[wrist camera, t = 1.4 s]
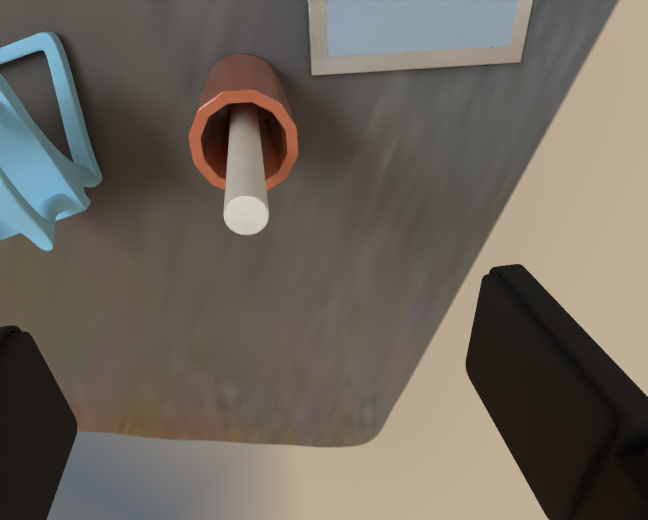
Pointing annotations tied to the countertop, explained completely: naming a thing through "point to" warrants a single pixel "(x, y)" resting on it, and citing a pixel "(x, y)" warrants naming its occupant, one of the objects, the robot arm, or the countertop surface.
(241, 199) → the stylus
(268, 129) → the pen pot
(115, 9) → the countertop surface
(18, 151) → the chair
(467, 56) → the plate
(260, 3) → the countertop surface
